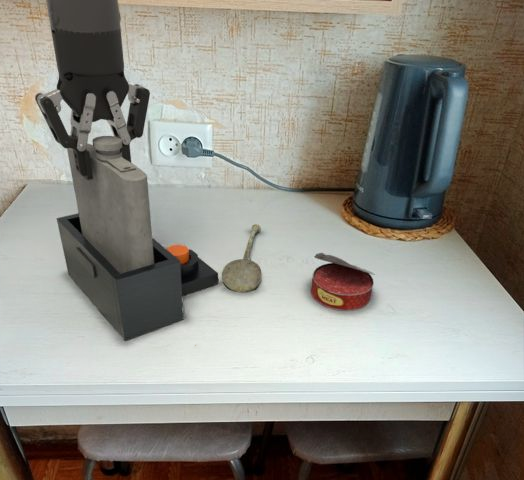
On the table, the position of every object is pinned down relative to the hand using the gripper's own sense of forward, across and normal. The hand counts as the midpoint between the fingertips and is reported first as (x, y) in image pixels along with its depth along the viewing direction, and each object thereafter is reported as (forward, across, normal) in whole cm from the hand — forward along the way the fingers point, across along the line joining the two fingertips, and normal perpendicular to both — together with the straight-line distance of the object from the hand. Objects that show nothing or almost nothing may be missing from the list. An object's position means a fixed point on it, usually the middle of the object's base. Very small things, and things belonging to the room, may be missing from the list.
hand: (105, 173), depth 67 cm
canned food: (+19, -30, +18) cm, 40 cm away
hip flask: (+15, 0, +1) cm, 16 cm away
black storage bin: (+19, 0, 0) cm, 19 cm away
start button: (+16, -10, 0) cm, 19 cm away
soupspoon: (+19, -24, +1) cm, 31 cm away
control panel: (+19, -10, 0) cm, 22 cm away
